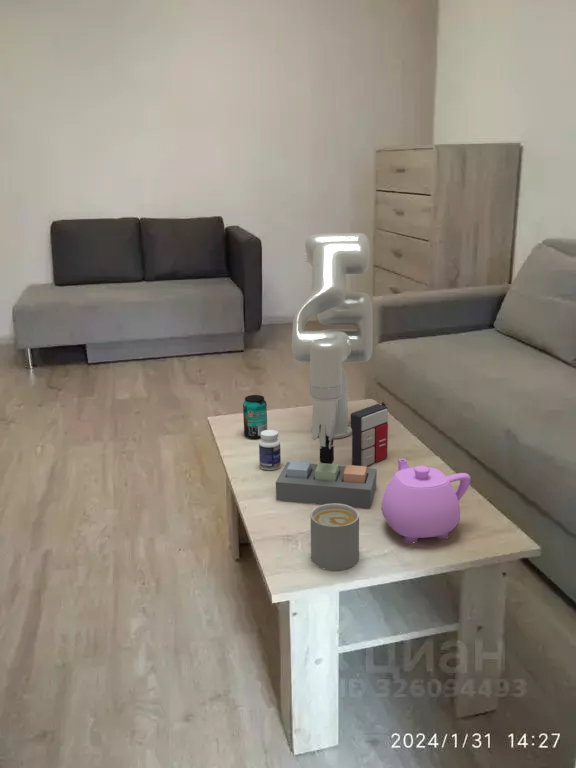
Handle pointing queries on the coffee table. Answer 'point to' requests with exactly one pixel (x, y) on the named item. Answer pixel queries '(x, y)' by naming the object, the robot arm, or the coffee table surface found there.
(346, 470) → the terracotta button
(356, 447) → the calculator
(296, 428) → the coffee table surface
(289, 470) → the slate button
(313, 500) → the button housing
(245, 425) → the teal supplement jar
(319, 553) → the coffee mug
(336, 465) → the sage button
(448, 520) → the teapot
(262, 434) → the pill bottle
